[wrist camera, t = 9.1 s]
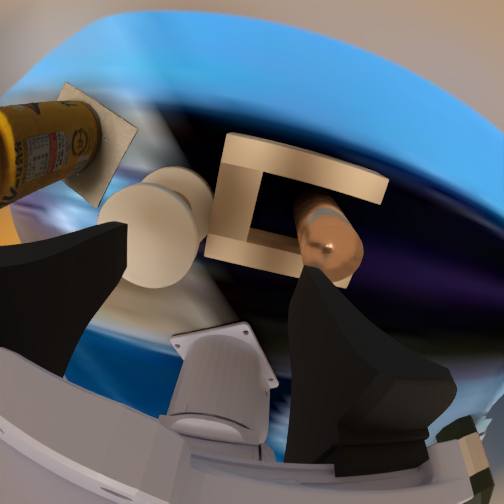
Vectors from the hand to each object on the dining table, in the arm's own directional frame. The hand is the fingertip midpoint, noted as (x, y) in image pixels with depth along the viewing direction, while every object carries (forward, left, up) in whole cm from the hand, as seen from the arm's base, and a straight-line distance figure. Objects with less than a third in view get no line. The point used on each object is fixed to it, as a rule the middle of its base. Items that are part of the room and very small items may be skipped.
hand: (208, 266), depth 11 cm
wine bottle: (-51, -23, -10) cm, 57 cm away
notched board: (-2, -3, -9) cm, 10 cm away
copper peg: (-2, -5, -9) cm, 11 cm away
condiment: (+9, +10, -10) cm, 17 cm away
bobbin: (+1, +4, -9) cm, 10 cm away
